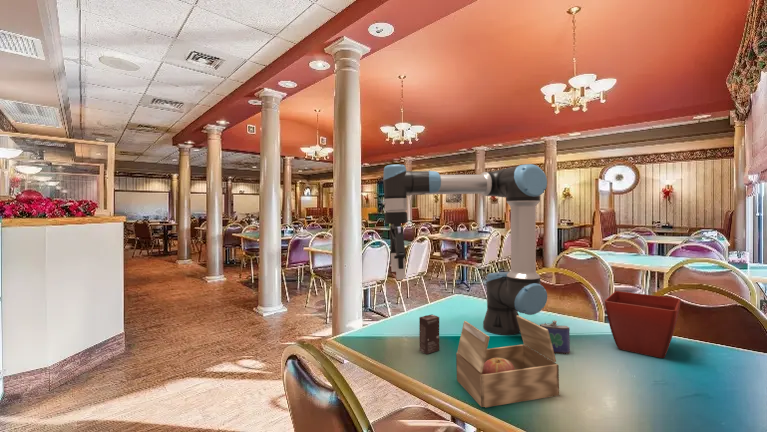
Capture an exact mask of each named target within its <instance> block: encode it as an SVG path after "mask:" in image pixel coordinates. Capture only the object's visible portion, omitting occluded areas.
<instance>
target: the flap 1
mask: <svg viewBox="0 0 767 432" xmlns="http://www.w3.org/2000/svg"><path fill="white" fill-rule="evenodd" d="M461 329H462V330H461V333H460V338H459V342H458V346H457V351H456V353H459V354H460V355H461V356H463V357H464V358H465V359H466V360H467V361H468V362H469V363H470V364H471V365H473V366H474V367H475V368H476V369H477V370H478V371H479V372H482V370H483V366H484V361H485V356H486V352H487V349H488V346H489V341H490V336H489V335H488V334H486V333H484V332H483V331H482V330H480V329H479V328H477V327H475V325H473V324H471V323H469V322H468V321H466V320H464V321H463V324H462V328H461Z"/></svg>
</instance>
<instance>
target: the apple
mask: <svg viewBox="0 0 767 432" xmlns="http://www.w3.org/2000/svg"><path fill="white" fill-rule="evenodd" d="M511 370H515V368H514V366H513V364H512V363H511V362H510V361H508V360H506V359H503V358H492V359H489V360H487V361H486V362H485V363H484V366H483V370H482V374H490V373H497V372H504V371H511Z"/></svg>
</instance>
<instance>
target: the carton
mask: <svg viewBox="0 0 767 432" xmlns="http://www.w3.org/2000/svg"><path fill="white" fill-rule="evenodd" d="M455 353H456V354H455V358H456V359H455V360H456V362H455V364H456V381H457V382H458V384H459V385H461V387H463V389H464V390H465V391H466V392H467V393H468V394H469V395H470V396H471V397H472V399H473V400H474V401H475V402H476V403H477V404H478V405H479V406H480V407H481V408H482V407H485V408H490V407H495V406H502V405H507V404H515V403H519V402H526V401H533V400H540V399H545V398H551V397H557V396H560V375H559V374H560V369H559V367H560V366H559V365H560V364H558V363H556V362H553V361H551V360H550V359H548V358H546V357H545V356H543V355H541V354H540V353H538V352H536V351H535V350H533V349H531V348H530V347H528V346H526V345H524V343H523V344H517V345H516V344H515V345H507V346H500V347H492V348H487V352H486V356H485V361H484V363H485V362H486V361H487V360H489V359H492V358H503V359H506V360H508V361H510V362H511V363H512V364H513V366H514V368H515V370H511V371H504V372H497V373H490V374H482V372H479V371H478V370H477V369H476V368H475V367H474V366H473V365H471V364H470V363H469V362H468V361H467V360H466V359H465V358H464V357H463V356H461V355H460V354H459V353H458V352H455Z"/></svg>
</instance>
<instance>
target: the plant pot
mask: <svg viewBox="0 0 767 432" xmlns="http://www.w3.org/2000/svg"><path fill="white" fill-rule="evenodd" d="M681 301H682V300H681V298H678V297H670V296H660V295H652V294H644V293H637V292H628V291H627V292H626V291H621V290H620V291H619V290H617V291H614V292H613V293H611V295H609V296H608V297H607V298H606V299H604V305H605V312H606V316H607V321H608V324H609V329H610V332H611V334H612V336H613V340H614V343H615V345H616V348H617V349H619V350H623V351H628V352H632V353H635V354H641V355H646V356H651V357H655V358H659V359H664V358H665V357H666V355H667V353H668V350H669V347H670V344H671V342H672V339H673V335H674V332H675V329H676V326H677V322H678V317H679V312H680V307H681Z"/></svg>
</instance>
